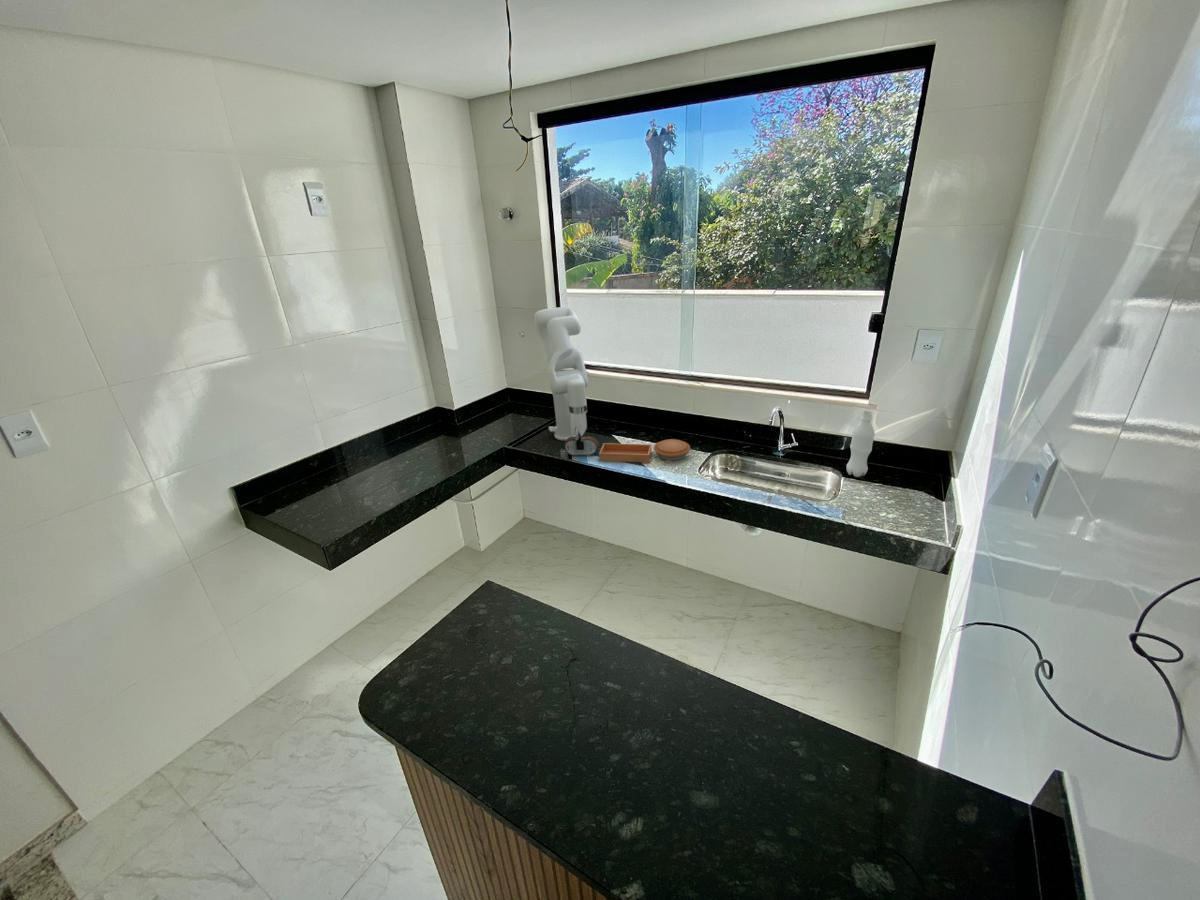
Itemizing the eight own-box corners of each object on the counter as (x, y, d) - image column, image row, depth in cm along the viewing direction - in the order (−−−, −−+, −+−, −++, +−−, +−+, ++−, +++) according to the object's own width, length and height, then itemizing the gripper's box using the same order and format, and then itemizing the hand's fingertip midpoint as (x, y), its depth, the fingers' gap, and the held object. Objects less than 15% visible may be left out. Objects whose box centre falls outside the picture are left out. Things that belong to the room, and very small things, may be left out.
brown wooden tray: (599, 460, 207) (598, 453, 205) (604, 450, 216) (603, 443, 214) (649, 462, 202) (648, 455, 201) (651, 451, 211) (651, 444, 210)
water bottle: (865, 470, 185) (877, 409, 175) (867, 479, 179) (880, 417, 168) (844, 468, 188) (855, 408, 177) (846, 477, 182) (857, 415, 171)
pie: (668, 444, 217) (668, 433, 215) (697, 453, 207) (697, 442, 205) (646, 456, 208) (646, 445, 206) (675, 466, 198) (675, 455, 196)
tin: (599, 453, 213) (598, 435, 210) (598, 456, 211) (597, 438, 207) (565, 453, 215) (564, 436, 212) (564, 456, 212) (562, 438, 209)
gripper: (574, 401, 211) (577, 439, 219) (564, 415, 197) (568, 455, 205) (590, 401, 210) (593, 440, 218) (582, 415, 196) (585, 456, 204)
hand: (581, 447), depth 211 cm, fingers closed on tin, 3 cm apart
